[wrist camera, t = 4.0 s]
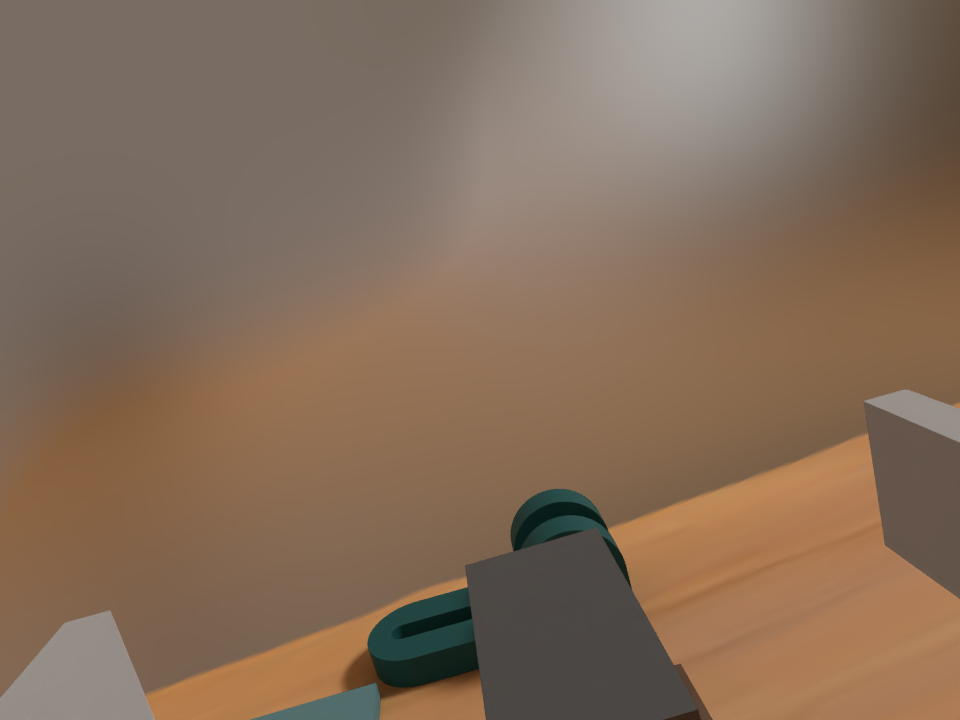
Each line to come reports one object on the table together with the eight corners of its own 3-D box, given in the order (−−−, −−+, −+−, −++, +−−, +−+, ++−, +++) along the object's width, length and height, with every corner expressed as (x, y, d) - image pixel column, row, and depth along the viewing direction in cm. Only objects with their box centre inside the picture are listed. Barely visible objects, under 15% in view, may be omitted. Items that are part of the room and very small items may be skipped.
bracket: (615, 574, 55) (591, 478, 53) (640, 626, 48) (614, 517, 46) (380, 640, 55) (348, 546, 53) (373, 701, 48) (336, 595, 46)
